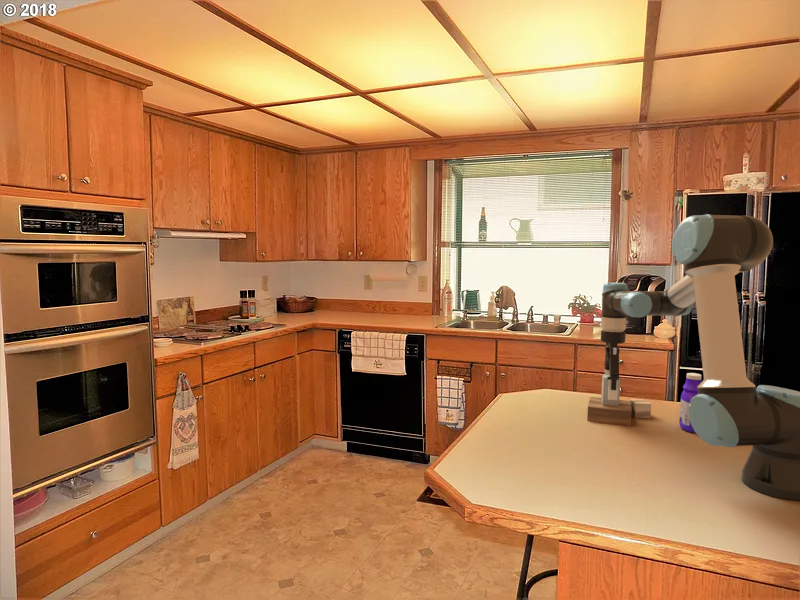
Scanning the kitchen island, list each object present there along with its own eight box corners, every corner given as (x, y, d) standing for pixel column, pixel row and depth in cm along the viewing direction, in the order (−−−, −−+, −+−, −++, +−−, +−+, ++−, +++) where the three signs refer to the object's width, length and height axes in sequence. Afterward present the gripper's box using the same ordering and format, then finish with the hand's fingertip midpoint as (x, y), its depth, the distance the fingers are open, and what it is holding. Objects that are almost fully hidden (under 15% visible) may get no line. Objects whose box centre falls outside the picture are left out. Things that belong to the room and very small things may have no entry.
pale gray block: (618, 406, 179) (620, 379, 178) (602, 405, 180) (604, 377, 179) (616, 402, 184) (618, 375, 183) (600, 401, 185) (602, 374, 184)
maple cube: (650, 418, 182) (651, 403, 182) (635, 418, 182) (635, 403, 182) (643, 413, 187) (644, 399, 187) (629, 413, 187) (629, 399, 187)
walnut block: (630, 427, 174) (631, 411, 174) (587, 421, 179) (587, 406, 178) (630, 415, 186) (631, 401, 186) (589, 411, 191) (590, 397, 190)
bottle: (706, 433, 167) (709, 376, 165) (687, 433, 167) (690, 376, 166) (693, 426, 174) (697, 371, 173) (675, 425, 174) (678, 371, 173)
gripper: (631, 336, 167) (627, 405, 169) (620, 325, 191) (618, 386, 193) (604, 335, 169) (601, 403, 171) (597, 324, 193) (595, 384, 195)
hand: (610, 394), depth 182 cm, fingers open, 13 cm apart
